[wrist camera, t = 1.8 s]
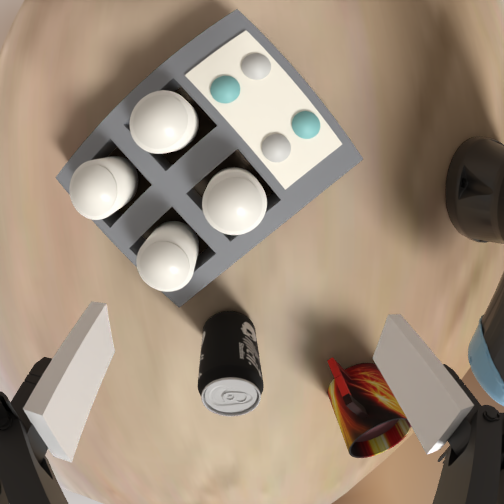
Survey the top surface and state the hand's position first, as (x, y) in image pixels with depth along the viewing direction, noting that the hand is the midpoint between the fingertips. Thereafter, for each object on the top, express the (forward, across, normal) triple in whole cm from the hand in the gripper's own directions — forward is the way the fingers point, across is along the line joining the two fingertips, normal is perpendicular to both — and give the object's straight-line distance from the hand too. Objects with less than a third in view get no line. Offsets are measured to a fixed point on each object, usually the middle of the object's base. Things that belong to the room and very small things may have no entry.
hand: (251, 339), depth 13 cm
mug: (+21, +19, -25) cm, 38 cm away
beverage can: (+21, 0, -14) cm, 26 cm away
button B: (+18, -6, -3) cm, 19 cm away
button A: (+18, -1, +3) cm, 18 cm away
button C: (+18, -7, +9) cm, 22 cm away
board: (+21, -4, +6) cm, 22 cm away
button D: (+18, -13, +4) cm, 23 cm away
